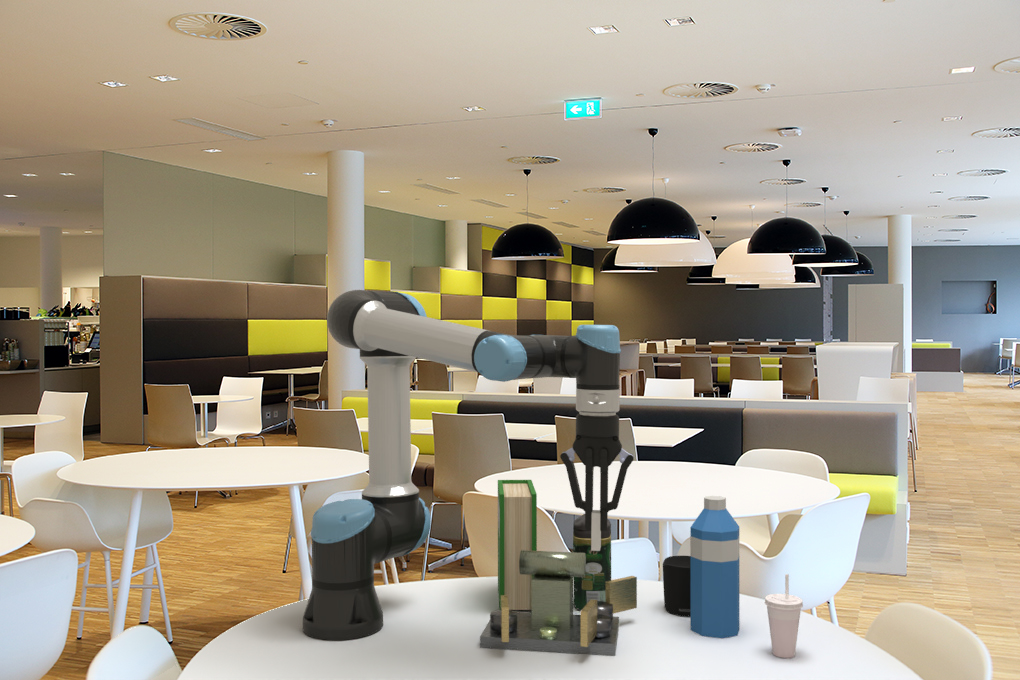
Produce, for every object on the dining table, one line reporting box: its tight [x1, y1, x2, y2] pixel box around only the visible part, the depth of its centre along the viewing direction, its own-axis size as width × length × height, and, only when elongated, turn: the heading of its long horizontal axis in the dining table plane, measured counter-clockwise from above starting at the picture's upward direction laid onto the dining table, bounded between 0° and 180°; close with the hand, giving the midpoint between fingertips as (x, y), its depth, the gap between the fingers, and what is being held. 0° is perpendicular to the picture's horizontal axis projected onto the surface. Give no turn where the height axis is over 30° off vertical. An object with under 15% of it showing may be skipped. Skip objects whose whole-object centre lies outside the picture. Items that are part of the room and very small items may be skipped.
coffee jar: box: [572, 513, 612, 611], centre depth 180 cm, size 10×8×19 cm
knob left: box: [489, 595, 518, 642], centre depth 157 cm, size 12×5×6 cm, turn 2°
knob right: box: [580, 599, 611, 647], centre depth 154 cm, size 12×5×6 cm, turn 160°
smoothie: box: [764, 573, 804, 659], centre depth 153 cm, size 6×6×14 cm
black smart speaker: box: [662, 555, 691, 618], centre depth 177 cm, size 9×9×10 cm
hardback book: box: [497, 479, 538, 611], centre depth 184 cm, size 18×7×24 cm, turn 2°
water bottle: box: [689, 495, 741, 639], centre depth 166 cm, size 9×9×25 cm
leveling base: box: [479, 550, 620, 656], centre depth 162 cm, size 24×15×15 cm, turn 80°
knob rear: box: [597, 575, 638, 621], centre depth 167 cm, size 12×5×6 cm, turn 126°
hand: (596, 548), depth 152 cm, fingers closed
